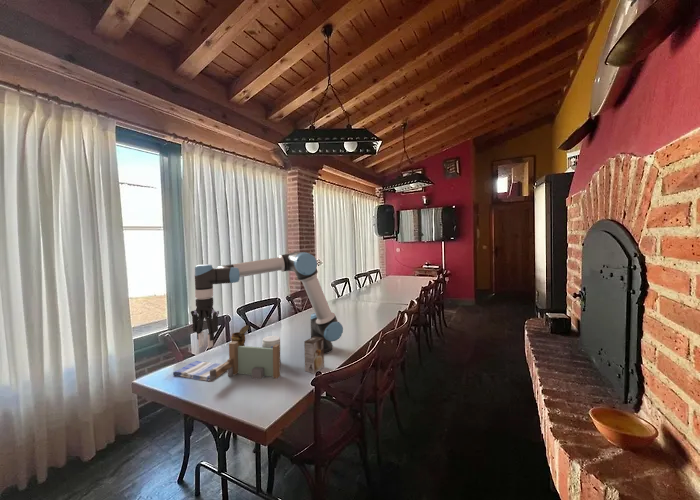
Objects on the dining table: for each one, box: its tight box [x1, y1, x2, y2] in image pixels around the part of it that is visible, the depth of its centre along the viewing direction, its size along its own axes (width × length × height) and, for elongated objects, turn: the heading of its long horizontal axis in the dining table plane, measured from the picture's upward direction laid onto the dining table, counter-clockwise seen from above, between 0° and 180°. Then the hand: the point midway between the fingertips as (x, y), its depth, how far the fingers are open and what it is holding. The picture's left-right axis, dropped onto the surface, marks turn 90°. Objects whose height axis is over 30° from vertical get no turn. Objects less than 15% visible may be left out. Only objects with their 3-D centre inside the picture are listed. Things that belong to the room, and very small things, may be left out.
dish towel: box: [172, 360, 223, 382], centre depth 159 cm, size 17×24×3 cm
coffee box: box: [303, 336, 325, 374], centre depth 160 cm, size 9×6×16 cm
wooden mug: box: [230, 324, 250, 346], centre depth 184 cm, size 9×14×18 cm, turn 57°
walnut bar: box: [210, 358, 233, 381], centre depth 146 cm, size 16×3×4 cm, turn 169°
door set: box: [227, 340, 281, 380], centre depth 153 cm, size 26×6×16 cm, turn 79°
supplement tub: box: [261, 335, 281, 348], centre depth 166 cm, size 10×10×15 cm
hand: (205, 346), depth 143 cm, fingers open, 4 cm apart
